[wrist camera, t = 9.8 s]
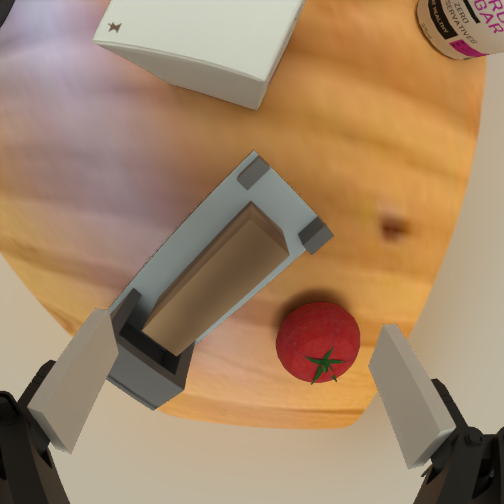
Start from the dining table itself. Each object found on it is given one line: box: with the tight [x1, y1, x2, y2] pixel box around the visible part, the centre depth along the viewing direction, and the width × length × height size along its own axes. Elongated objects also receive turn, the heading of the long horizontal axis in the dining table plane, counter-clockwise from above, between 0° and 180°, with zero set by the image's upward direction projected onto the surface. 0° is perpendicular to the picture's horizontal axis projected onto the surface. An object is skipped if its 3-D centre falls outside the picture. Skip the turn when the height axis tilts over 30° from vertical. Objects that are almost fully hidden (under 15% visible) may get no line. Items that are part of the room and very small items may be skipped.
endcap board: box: [106, 150, 334, 410], centre depth 26 cm, size 10×24×9 cm, turn 135°
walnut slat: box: [142, 201, 290, 356], centre depth 27 cm, size 4×14×6 cm, turn 136°
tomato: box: [276, 302, 360, 385], centre depth 29 cm, size 9×9×8 cm
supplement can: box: [417, 0, 504, 60], centre depth 13 cm, size 8×8×15 cm
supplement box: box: [92, 0, 306, 110], centre depth 16 cm, size 9×9×15 cm
